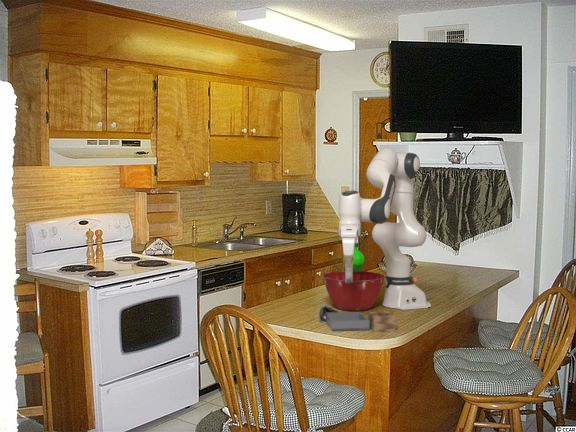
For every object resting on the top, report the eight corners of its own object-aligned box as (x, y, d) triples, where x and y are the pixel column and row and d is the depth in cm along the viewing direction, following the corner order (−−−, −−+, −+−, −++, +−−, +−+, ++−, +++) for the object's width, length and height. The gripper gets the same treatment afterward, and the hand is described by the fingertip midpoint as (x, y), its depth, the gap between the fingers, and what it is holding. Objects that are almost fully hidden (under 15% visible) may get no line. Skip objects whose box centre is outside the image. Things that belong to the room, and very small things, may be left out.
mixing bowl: (312, 304, 299) (312, 271, 298) (366, 299, 309) (366, 268, 308) (338, 317, 273) (338, 282, 271) (395, 312, 283) (396, 278, 281)
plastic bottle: (343, 291, 329) (343, 244, 327) (346, 287, 339) (346, 241, 337) (362, 292, 326) (363, 244, 324) (364, 288, 337) (365, 242, 335)
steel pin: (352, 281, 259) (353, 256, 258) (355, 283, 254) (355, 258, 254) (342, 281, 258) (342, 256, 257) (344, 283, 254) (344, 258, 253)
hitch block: (389, 325, 259) (389, 311, 258) (396, 331, 250) (396, 316, 249) (368, 326, 258) (368, 312, 257) (373, 332, 249) (374, 317, 248)
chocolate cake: (344, 318, 273) (324, 299, 274) (348, 317, 266) (328, 297, 267) (329, 334, 271) (309, 315, 271) (333, 334, 264) (313, 314, 264)
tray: (360, 321, 266) (360, 311, 266) (369, 330, 251) (369, 320, 251) (325, 322, 264) (325, 312, 264) (332, 331, 250) (332, 321, 249)
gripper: (342, 228, 265) (342, 261, 266) (340, 233, 245) (340, 268, 246) (357, 228, 264) (357, 261, 266) (356, 233, 244) (356, 269, 245)
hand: (349, 265), depth 256 cm, fingers closed on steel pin, 3 cm apart
